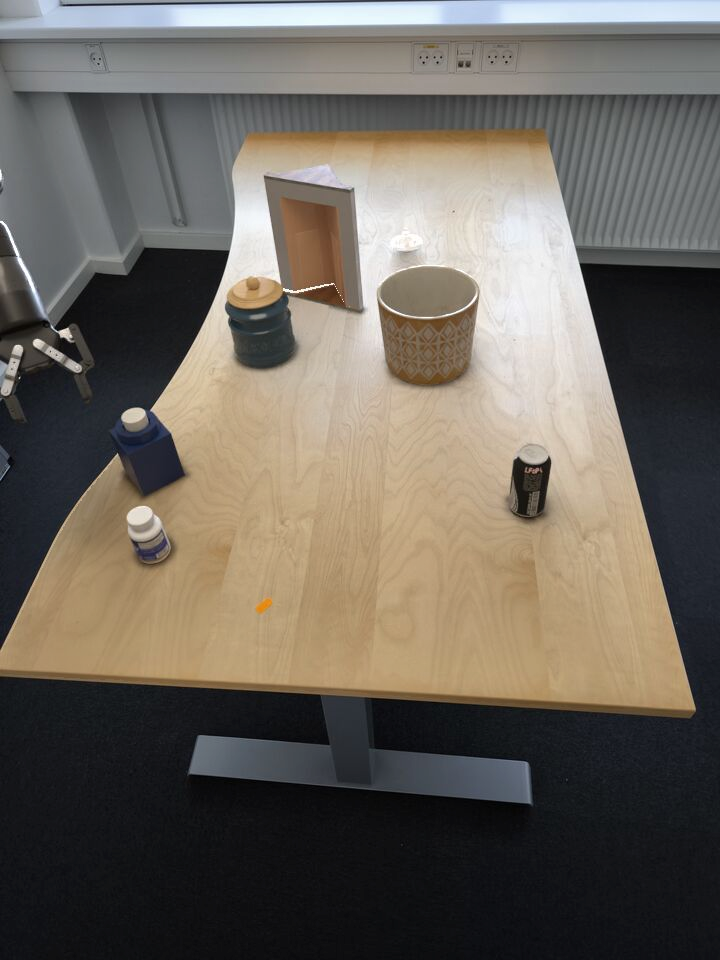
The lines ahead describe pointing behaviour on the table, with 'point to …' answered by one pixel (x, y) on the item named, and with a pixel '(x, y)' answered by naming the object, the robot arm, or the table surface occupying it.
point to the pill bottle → (147, 535)
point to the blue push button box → (148, 454)
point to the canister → (260, 322)
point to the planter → (428, 322)
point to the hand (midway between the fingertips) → (55, 412)
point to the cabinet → (316, 236)
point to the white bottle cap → (135, 419)
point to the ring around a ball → (406, 242)
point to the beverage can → (529, 480)
